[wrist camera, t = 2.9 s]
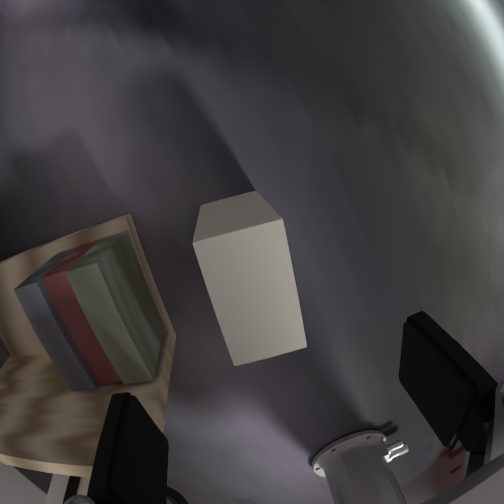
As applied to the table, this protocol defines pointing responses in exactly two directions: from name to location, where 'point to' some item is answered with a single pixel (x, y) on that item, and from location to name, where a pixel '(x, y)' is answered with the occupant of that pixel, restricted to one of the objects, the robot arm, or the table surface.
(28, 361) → the bookshelf
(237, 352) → the boxed book
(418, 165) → the table surface
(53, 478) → the coffee press
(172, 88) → the table surface
